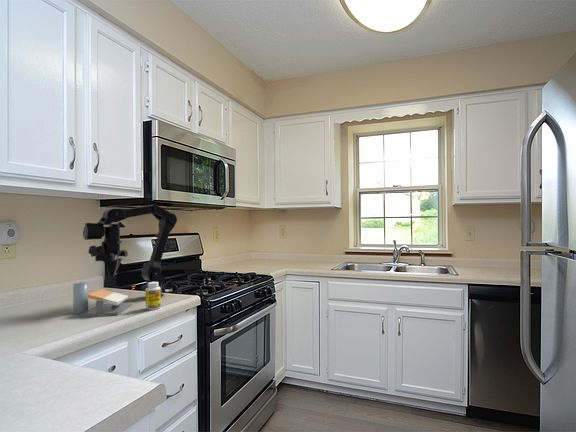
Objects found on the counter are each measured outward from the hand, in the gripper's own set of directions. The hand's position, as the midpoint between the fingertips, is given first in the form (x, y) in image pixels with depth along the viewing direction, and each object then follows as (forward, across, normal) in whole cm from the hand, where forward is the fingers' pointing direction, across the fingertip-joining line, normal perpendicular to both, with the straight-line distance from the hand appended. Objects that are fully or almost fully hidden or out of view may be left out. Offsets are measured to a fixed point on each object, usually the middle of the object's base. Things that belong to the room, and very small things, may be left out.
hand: (112, 275), depth 141 cm
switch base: (+12, +10, +2) cm, 16 cm away
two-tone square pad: (+8, +10, +2) cm, 13 cm away
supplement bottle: (+12, +10, +19) cm, 25 cm away
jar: (+12, +10, -8) cm, 17 cm away
